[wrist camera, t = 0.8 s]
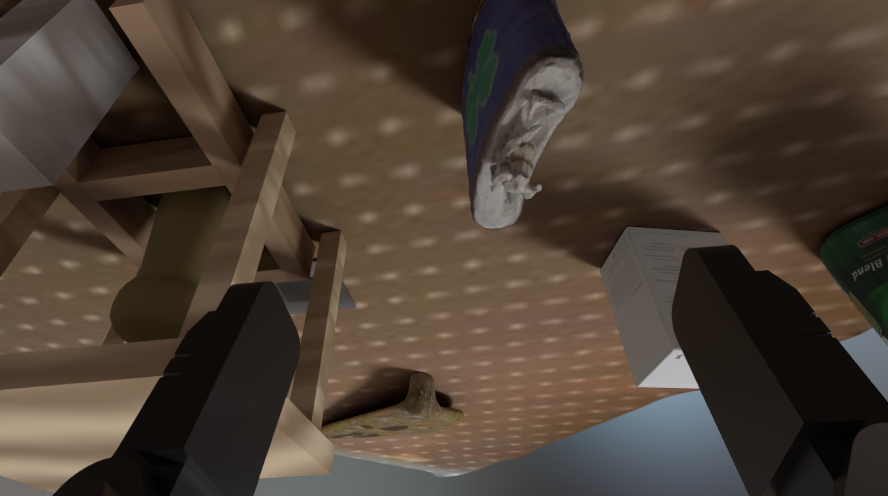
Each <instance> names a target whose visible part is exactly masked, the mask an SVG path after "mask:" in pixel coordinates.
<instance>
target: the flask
mask: <svg viewBox="0 0 888 496" xmlns="http://www.w3.org/2000/svg"><path fill="white" fill-rule="evenodd" d="M582 86H583V66H582V63H581V61H580V59H579V53H578V52H577V50H576V49H575V47H574V45H573V43H572V40H571V37H570V34H569V32H568V31H567V29H566V27H565V25H564V22H563V21H562V19H561V16H560V14H559V12H558V7H557V4H556V1H555V0H482V1H481V3H480V4H479V7H478V12H477V15H476V16H475V21H474V22H473V25H472V31H471V35H470V37H469V41H468V52H467V56H466V63H465V69H464V77H463V79H462V91H461V113H462V118H463V127H464V138H465V143H466V159H467V170H468V178H469V196H470V201H471V212H472V216H473V220H474V221H475V222H477V223H478V224H480V225H482V226H484V227H487V228H490V229H493V228H503V227H505V226H508V225H513V224H514V223H515V221H516V220H517V219H518V217H519V215H520V213H521V212H522V208H523V204H524V198H525V199H531V198H532V197H533V196H534V194H535V193H536V192H539V191H541V189H542V186H541V185H540V184H538V185H536V186H535V187H534V186H532V185H530V184H529V181H530V178H531V176H532V174H533V171H534V168H535V166H536V164H537V162H538V159H539V157H540V155H541V154H542V152H543V149H544V146H545V144H546V143H547V141H548V139H549V138H550V136H551V135H552V133H553V131H554V129H555V128H556V126H557V125H558V124H559V122H560V121H561V120H562V119H563V118H564V116H565V114H566V113H568V112H569V111H570V110H571V109H572V108H573V106H574V104H575V102H576V100H577V99H578V97H579V95H580V93H581V91H582Z"/></svg>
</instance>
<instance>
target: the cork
mask: <svg viewBox="0 0 888 496" xmlns="http://www.w3.org/2000/svg"><path fill="white" fill-rule="evenodd" d="M231 196H232V194H231V193H230V191H229V190H228V188H227V187H226V185H224V186H216V187H208V188H200V189H192V190H184V191H176V192H168V193H162V195H161V198H160V202H159V205H158V209H157V212H156V216H155V219H154V223H153V226H152V230H151V233H150V237H149V240H148V244H147V247H146V251H145V254H144V258H143V261H142V265H141V268H140V272H139V275H138V277H136V278H134V279H132V280H131V281H129V282H128V283H127V284H125V286H124V287H123V288H122V289H121V290H120V291H119V292H118V294H117V296H116V298H115V300H114V302H113V305H112V307H111V313H110V319H111V323H112V327H113V329H114V332H115V333H116V334H117V335H118V336H119V337H120V338H121V339H123V340H124V341H126V342H127V343H132V342H143V341H153V340H164V339H174V338H178V337H179V335H180V332H181V329H182V326H183V324H184V321H185V318H186V316H187V313H188V310H189V308H190V305H191V302H192V300H193V297H194V294H195V292H196V289H197V286H198V284H199V281H200V278H201V276H202V273H203V270H204V268H205V265H206V262H207V260H208V257H209V254H210V252H211V249H212V246H213V244H214V241H215V238H216V236H217V233H218V230H219V228H220V225H221V222H222V220H223V217H224V214H225V212H226V209H227V206H228V204H229V201H230V198H231Z"/></svg>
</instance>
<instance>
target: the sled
mask: <svg viewBox="0 0 888 496" xmlns="http://www.w3.org/2000/svg"><path fill="white" fill-rule="evenodd" d="M109 10H110V11H111V13H112V14H113V16H114V17H115V19H116V20H117V22H118V23H119V25H120V26H121V28H122V29H123V31H124V32H125V34H126V35H127V37H128V38H129V40H130V41H131V43H132V44H133V46H134V47H135V49H136V50H137V52H138V53H139V55H140V56H141V58H142V59H143V61H144V62H145V64H146V66H147V67H148V69H149V70H150V72H151V73H152V75H153V76H154V78H155V79H156V81H157V82H158V84H159V85H160V87H161V88H162V90H163V91H164V93H165V94H166V96H167V97H168V99H169V100H170V102H171V103H172V105H173V106H174V108H175V109H176V111H177V112H178V114H179V115H180V117H181V118H182V120H183V122H184V123H185V125H186V126H187V128H188V129H189V131H190V132H191V134H192V135H193V136H192V137H185V138H177V139H170V140H163V141H155V142H148V143H140V144H133V145H126V146H118V147H111V148H103V149H101V148H100V147H99V146H98V144H97V143H96V142H95V141H94V140H93V139H92V138H91V136H90V135H91V134H92V133H93V131H94V130H95V128H96V127H97V126H98V124H99V123H100V122H101V120H102V119H103V118H104V116H105V115H106V113H107V112H108V111H109V109H110V108H111V107H112V105H113V104H114V102H115V101H116V100H117V98H118V97H119V96H120V94H121V93H122V91H123V90H124V89H125V87H126V86H127V85H128V83H129V82H130V80H131V79H132V78H133V76H134V75H135V74H136V72H137V71H138V69H139V68H140V67H139V65H138V64H137V62H136V61H135V59H134V58H133V56H132V55H131V53H130V52H129V50H128V49H127V47H126V46H125V44H124V43H123V42H122V40H121V39H120V37H119V36H118V34H117V33H116V31H115V30H114V28H113V27H112V25H111V24H110V22H109V21H108V19H107V18H106V16H105V15H104V13H103V12H102V10H101V9H100V7H99V6H98V4H97V3H96V1H95V0H22V1H21V2H20V3H19V4H17V5H16V6H15V7H14V8H12V9H11V10H10V11H9V12H7V13H6V14H5V15H4V16H2V17H1V18H0V192H6V191H14V190H21V189H29V188H37V187H45V186H52V185H53V186H55V187H56V188H57V189H58V190H59V191H60V192H61V193H62V194H63V195H64V196H65V197H66V198H67V199H68V200H69V201H70V202H71V203H72V204H73V205H74V206H75V207H76V208H77V209H78V210H79V211H80V212H81V213H82V214H83V215H84V216H86V217H87V218H88V219H89V220H90V221H91V222H92V223H93V224H94V225H95V226H96V227H97V228H98V229H99V230H100V231H101V232H102V233H103V234H104V235H105V236H106V237H107V238H108V239H109V240H110V241H111V242H112V243H113V244H114V245H115V246H117V247H118V248H119V249H120V250H121V251H122V252H123V253H124V254H125V255H126V256H127V257H128V258H129V259H130V260H131V261H132V262H133V263H134V264H135V265H136V266H137V267H138V268H139V269H140V268H141V265H142V261H143V258H144V254H145V251H146V247H147V244H148V240H149V237H150V233H151V230H152V226H153V223H154V219H155V216H156V212H155V211H154V209H153V208H152V207H151V206H150V205H149V204H148V202H147V201H146V200H145V199H144V198H143V197H142V196H144V195H152V194H160V193H168V192H176V191H184V190H192V189H200V188H208V187H216V186H224V185H226V187H227V188H228V190H229V191H230V193H231V194H232V193H233V190H234V188H235V185H236V182H237V180H238V177H239V174H240V172H241V169H242V166H243V164H244V161H245V158H246V156H247V153H248V150H249V148H250V145H251V142H252V139H253V137H254V133H253V131H252V129H251V127H250V125H249V123H248V121H247V120H246V118H245V116H244V114H243V112H242V110H241V108H240V107H239V105H238V103H237V101H236V99H235V97H234V95H233V94H232V92H231V90H230V88H229V86H228V84H227V82H226V81H225V79H224V77H223V75H222V73H221V71H220V69H219V68H218V66H217V64H216V62H215V60H214V58H213V56H212V55H211V53H210V51H209V49H208V47H207V45H206V43H205V42H204V40H203V38H202V36H201V34H200V32H199V30H198V29H197V27H196V25H195V23H194V21H193V19H192V18H191V16H190V14H189V12H188V10H187V8H186V6H185V5H184V3H183V1H182V0H116V1H115V2H114V3H113V4H112V5H111V6H110V7H109ZM314 253H315V246H314V244H313V242H312V240H311V238H310V236H309V235H308V233H307V231H306V229H305V227H304V225H303V223H302V222H301V220H300V218H299V216H298V214H297V212H296V210H295V209H294V207H293V205H292V203H291V201H290V199H289V197H288V196H287V194H286V192H285V190H284V188H283V186H282V184H281V187H280V191H279V194H278V198H277V201H276V205H275V208H274V212H273V215H272V219H271V222H270V226H269V229H268V233H267V236H266V240H265V243H264V247H263V250H262V254H261V257H260V261H259V265H258V268H257V272H256V275H255V279H254V282H264V281H271V282H273V283H281V282H291V281H300V280H309V279H310V274H311V268H312V263H313V258H314Z"/></svg>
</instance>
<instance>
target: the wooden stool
mask: <svg viewBox="0 0 888 496" xmlns="http://www.w3.org/2000/svg"><path fill="white" fill-rule="evenodd" d="M295 135H296V131H295V129H294V126H293V124H292V122H291V120H290V118H289V115H288V113H287V111H284V112H277V113H270V114H263V115H261V118H260V121H259V123H258V126H257V129H256V131H255V134H254V137H253V139H252V142H251V145H250V148H249V150H248V153H247V156H246V158H245V161H244V164H243V166H242V169H241V172H240V174H239V177H238V180H237V182H236V185H235V188H234V190H233V193H232V196H231V198H230V201H229V204H228V206H227V209H226V212H225V214H224V217H223V220H222V222H221V225H220V228H219V230H218V233H217V236H216V238H215V241H214V244H213V246H212V249H211V252H210V254H209V257H208V260H207V262H206V265H205V268H204V270H203V273H202V276H201V278H200V281H199V284H198V286H197V289H196V292H195V294H194V297H193V300H192V302H191V305H190V308H189V310H188V313H187V316H186V318H185V321H184V324H183V326H182V329H181V332H180V335H179V337H178V338H174V339H164V340H153V341H143V342H132V343H127V342H126V341H124V340H123V339H121V338H120V337H119V336H118V335H117V334H116V333H115V332H114V329H113V327H112V326H111V328H110V330H109V333H108V335H107V337H106V339H105V341H104V343H103V345H100V346H90V347H79V348H68V349H58V350H47V351H37V352H26V353H16V354H5V355H0V475H1V476H4V477H7V478H10V479H13V480H16V481H19V482H22V483H25V484H29V485H31V486H35V487H38V488H41V489H44V490H47V491H50V492H56V491H57V490H58V489H59V488H60V487H61V486H62V485H63V484H64V483H65V482H66V481H67V480H68V479H69V478H71V477H72V476H73V475H75V474H76V473H77V472H79V471H80V470H82V469H84V468H85V467H87V466H89V465H91V464H93V463H95V462H97V461H100V460H103V459H106V458H110V457H112V456H113V454H114V453H115V451H116V450H117V448H118V446H119V445H120V443H121V441H122V440H123V438H124V436H125V435H126V433H127V431H128V430H129V428H130V426H131V425H132V423H133V421H134V420H135V418H136V416H137V415H138V413H139V411H140V410H141V408H142V406H143V405H144V403H145V401H146V400H147V398H148V396H149V395H150V393H151V391H152V390H153V388H154V386H155V385H156V383H157V381H158V380H159V378H160V377H163V371H164V370H165V368H166V366H167V365H168V363H169V361H170V360H171V358H174V357H175V355H174V353H175V351H176V350H177V348H178V346H179V345H180V343H181V341H182V340H183V338H184V336H185V335H186V333H187V331H188V330H189V329H191V328H192V327H193V326H194V325H195V324H196V323H197V322H198V321H199V320H200V319H201V318H202V317H203V316H204V315H205V314H206V313H208V312H209V311H216V309H217V307H218V306H219V304H220V302H221V300H222V299H223V297H224V295H225V293H226V291H227V290H228V288H229V287H230V286H231V285H233V284H240V283H252V282H254V279H255V275H256V272H257V268H258V265H259V261H260V257H261V254H262V250H263V247H264V243H265V240H266V236H267V233H268V229H269V226H270V222H271V219H272V215H273V212H274V208H275V205H276V201H277V198H278V194H279V191H280V187H281V184H282V180H283V177H284V173H285V170H286V166H287V163H288V159H289V156H290V152H291V149H292V145H293V142H294V138H295ZM59 193H60V191H59V190H58V189H57V188H56V187H55V186H53V185H52V186H45V187H37V188H29V189H21V190H14V191H6V192H3V193H2V195H1V196H0V277H1V275H2V274H3V272H4V271H5V270H6V268H7V267H8V265H9V264H10V262H11V261H12V260H13V258H14V257H15V255H16V254H17V253H18V251H19V250H20V248H21V247H22V246H23V244H24V243H25V241H26V240H27V238H28V237H29V236H30V234H31V233H32V231H33V230H34V229H35V227H36V226H37V224H38V223H39V221H40V220H41V219H42V217H43V216H44V214H45V213H46V212H47V210H48V209H49V207H50V206H51V205H52V203H53V202H54V200H55V199H56V197H57V196H58V195H59ZM346 247H347V243H346V241H345V238H344V236H343V234H342V232H341V231H335V232H326V233H322V234H321V239H320V244H319V250H318V255H317V260H313V263H312V268H311V274H310V279H309V280H300V281H291V282H281V283H274V284H275V285H276V286H277V288H278V290H279V292H280V294H281V297H282V299H283V301H284V303H285V305H286V307H287V310H288V312H289V314H294V313H304V312H307V313H306V319H305V324H304V329H303V335H302V340H301V345H300V356H299V360H298V364H297V367H296V372H295V377H294V383H293V388H292V393H291V398H290V400H289V399H288V398H287V397H286V400H285V403H284V406H283V409H282V412H281V415H280V418H279V421H278V424H277V427H276V430H275V433H274V436H273V439H272V442H271V445H270V448H269V451H268V454H267V456H266V459H265V462H264V465H263V468H262V471H261V474H260V477H259V478H272V477H288V476H304V475H319V474H331V469H332V461H333V453H334V445H333V444H332V443H331V442H330V441H329V440H328V439H327V438H326V437H325V436H324V435H323V434H322V433H321V425H322V418H323V411H324V404H325V397H326V389H327V382H328V375H329V368H330V361H331V354H332V347H333V340H334V332H335V325H336V318H337V311H338V309H345V308H355V304H354V302H353V300H352V298H351V296H350V294H349V292H348V290H347V288H346V286H345V284H344V282H343V280H342V275H343V268H344V261H345V254H346ZM139 272H140V269H139V270H138V273H137V275H136V277H138V275H139ZM136 277H135V278H136Z"/></svg>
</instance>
